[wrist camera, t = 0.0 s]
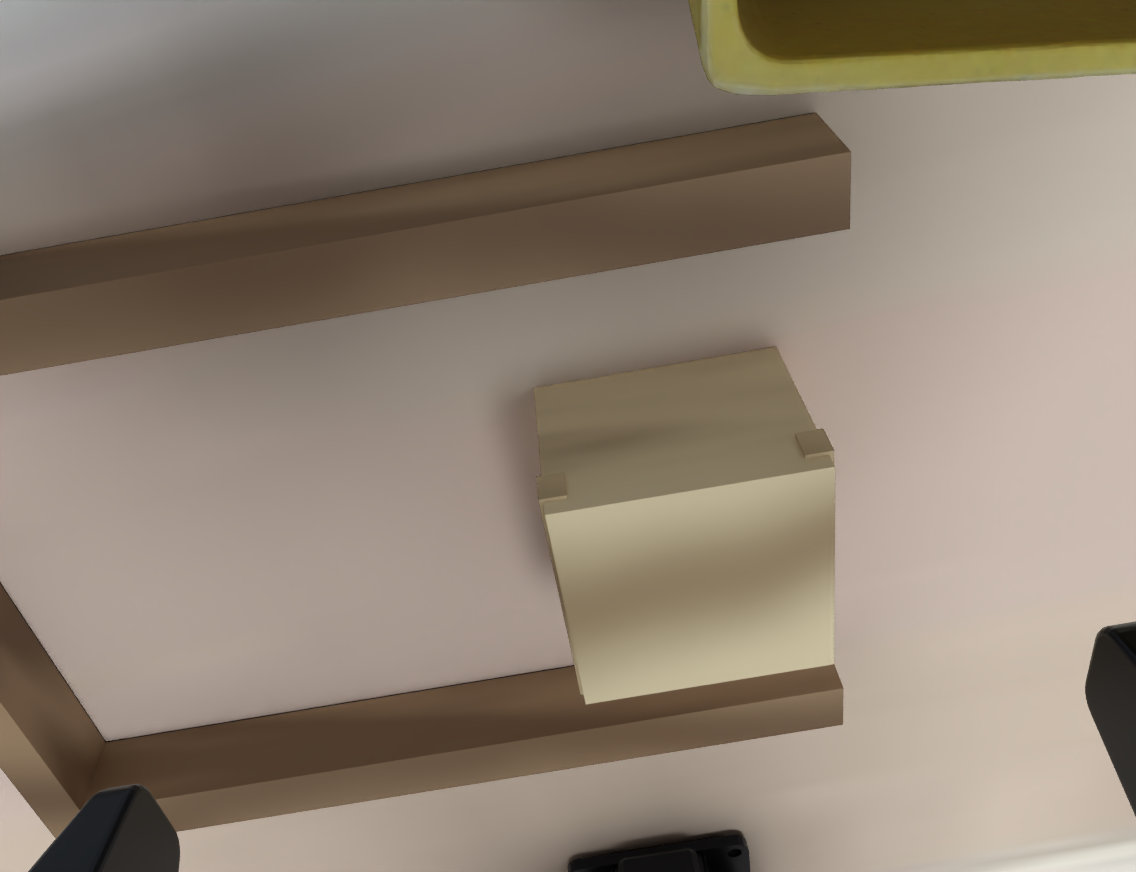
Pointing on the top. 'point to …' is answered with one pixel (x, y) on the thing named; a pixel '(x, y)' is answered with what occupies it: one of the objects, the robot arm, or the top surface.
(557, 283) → the top surface
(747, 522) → the box
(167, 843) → the robot arm
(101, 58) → the top surface
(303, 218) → the bay
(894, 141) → the top surface
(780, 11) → the flower pot
